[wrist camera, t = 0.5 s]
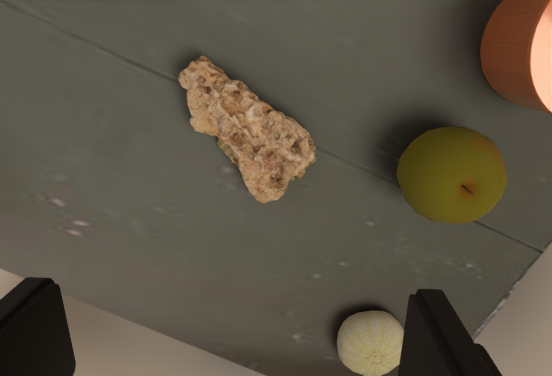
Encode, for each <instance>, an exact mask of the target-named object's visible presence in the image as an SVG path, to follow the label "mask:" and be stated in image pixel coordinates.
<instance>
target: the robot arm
mask: <svg viewBox="0 0 552 376" xmlns="http://www.w3.org/2000/svg"><path fill="white" fill-rule="evenodd" d="M75 364H76V363H75V357H74V352H73V348H72V343H71V339H70V333H69V329H68V324H67V319H66V314H65V310H64V305H63V300H62V296H61V291H60V287H59V285H58V284H55V283H54V281H53V280H52V279H51V278H35V277H29V278H26V279H24V280H23V281H22V282H20V283H19V284H18V285H17V286H16V287H15V288H13V289H12V290H11V291H10V292H9V293H8V294H7V295H6V296H4V297H3V298H2V299H1V300H0V376H73V374H74V371H75ZM398 376H502V375H501V373H500V372H499V370H498V369H497V367H496V365H495V364H494V362H493V360H492V359H491V358H490V356H489V354H488V353H487V351H486V350H485V348H484V347H483V346H482V345H480V344H475V343H474V342H473V340H472V338H471V337H470V335H469V333H468V332H467V330H466V329H465V327H464V325H463V324H462V322H461V320H460V319H459V317H458V315H457V314H456V312H455V310H454V309H453V307H452V305H451V304H450V302H449V301H448V299H447V297H446V296H445V294H444V292H443V291H442V290H439V289H418V290H417V292H416V294H411V295H410V296H409V301H408V308H407V315H406V322H405V329H404V336H403V343H402V349H401V356H400V363H399V370H398Z"/></svg>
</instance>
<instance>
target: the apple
mask: <svg viewBox="0 0 552 376" xmlns="http://www.w3.org/2000/svg"><path fill="white" fill-rule="evenodd" d="M396 176H397V179H398V182H399V184H400V187H401V190H402V192H403V195H404V197H405V199H406V201H407V202H408V203H409V205H410V206H411V207H412V208H413V209H414V211H415V212H416V213H417V214H419V215H421V216H423V217H425V218H427V219H429V220H431V221H435V222H445V223H454V224H461V223H466V222H470V221H475V220H477V219H479V218H480V217H482V216H483V215H485V214H486V213H488V212H489V211H491V210H492V209H493V207H494V206H495V205H496V204H497V203H498V201H499V200H500V199H501V198H502V196H503V193H504V190H505V188H506V185H507V182H508V179H507V175H506V170H505V165H504V161H503V157H502V155H501V153H500V152H499V150H498V148H497V147H496V145H495V144H494V142H493V141H492V140H490V139H489V138H487V137H485V136H483V135H482V134H480V133H478V132H477V131H474V130H471V129H468V128H465V127H442V128H437V129H433V130H428V131H426V132H425V133H423V134H422V135H421V136H419V137H418V138H416V139H415V140H414V141H412V142H411V143H410V145H409V146H408V147H407V149H406V150H405V151H404V153H403V154H402V155H401V157H400V160H399V164H398V168H397V172H396Z"/></svg>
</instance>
